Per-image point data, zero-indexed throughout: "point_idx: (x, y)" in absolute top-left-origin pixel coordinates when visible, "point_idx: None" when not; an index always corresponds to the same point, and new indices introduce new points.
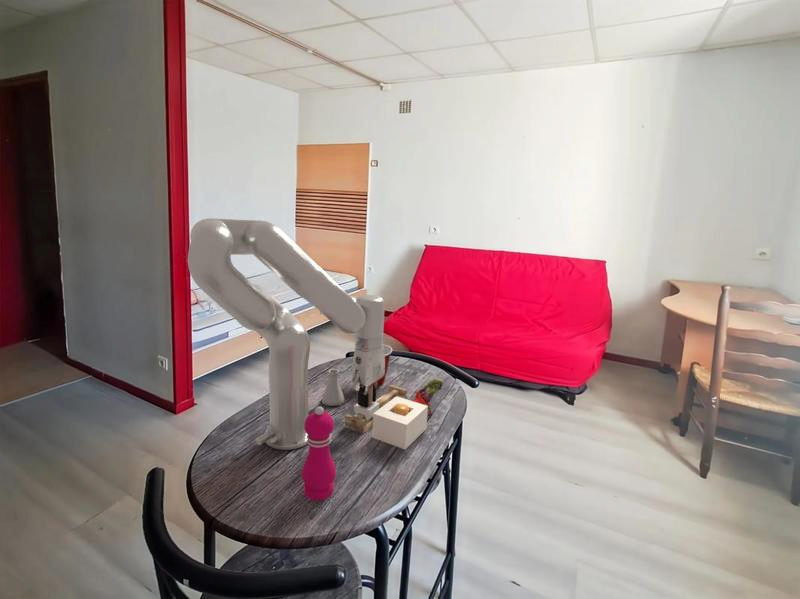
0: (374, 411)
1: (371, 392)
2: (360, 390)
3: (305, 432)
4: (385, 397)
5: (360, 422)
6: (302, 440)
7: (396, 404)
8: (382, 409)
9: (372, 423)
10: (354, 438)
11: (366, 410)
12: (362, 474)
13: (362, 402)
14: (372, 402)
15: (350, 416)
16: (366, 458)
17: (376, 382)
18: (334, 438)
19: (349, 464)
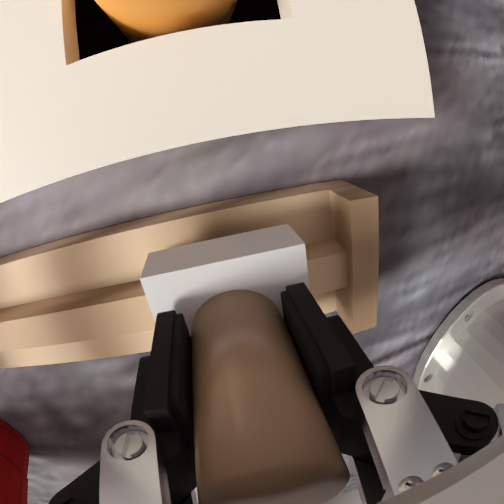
0: (213, 244)
1: (257, 388)
2: (485, 408)
3: (493, 318)
4: (17, 337)
5: (373, 216)
6: (501, 295)
7: (141, 2)
8: (320, 86)
9: (246, 201)
10: (393, 183)
11: (303, 267)
12: (499, 25)
13: (344, 332)
14: None
15: (368, 302)
16: (454, 48)
17: (128, 491)
18: (433, 248)
19: (499, 87)
